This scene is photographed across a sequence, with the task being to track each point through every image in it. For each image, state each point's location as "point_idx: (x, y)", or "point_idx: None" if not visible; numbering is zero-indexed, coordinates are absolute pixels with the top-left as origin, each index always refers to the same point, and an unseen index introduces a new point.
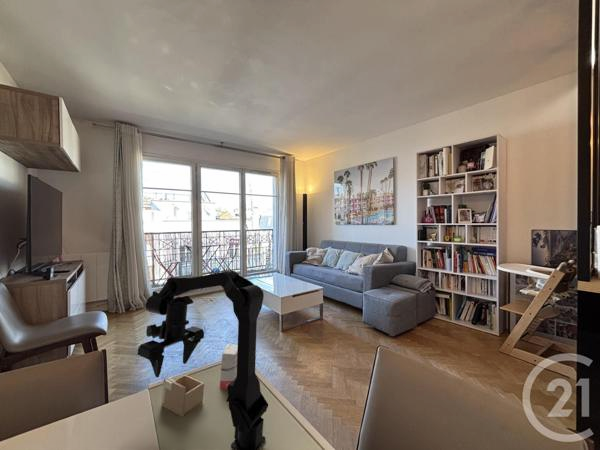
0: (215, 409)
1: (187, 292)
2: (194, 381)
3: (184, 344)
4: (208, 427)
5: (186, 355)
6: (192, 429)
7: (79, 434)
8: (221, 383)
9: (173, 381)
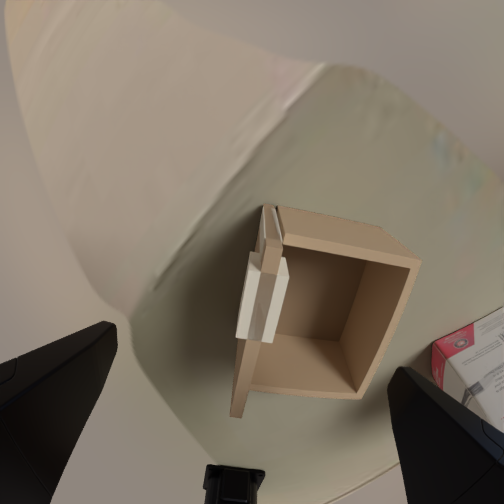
0: None
1: None
2: (375, 345)
3: (499, 482)
4: None
5: (414, 446)
6: (210, 385)
7: (44, 72)
8: (440, 358)
9: (260, 335)
